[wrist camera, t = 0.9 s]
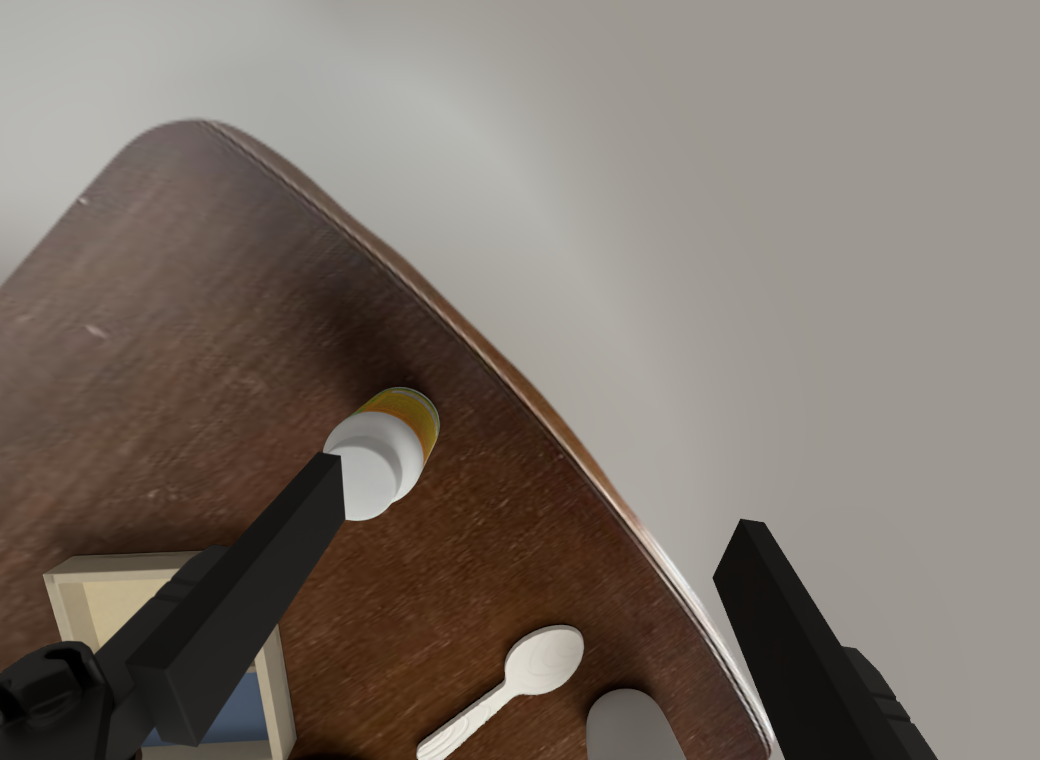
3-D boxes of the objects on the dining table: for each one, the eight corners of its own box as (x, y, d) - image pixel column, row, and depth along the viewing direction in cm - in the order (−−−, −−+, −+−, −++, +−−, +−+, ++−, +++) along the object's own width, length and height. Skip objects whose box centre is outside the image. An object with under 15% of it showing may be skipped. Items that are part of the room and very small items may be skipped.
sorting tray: (73, 555, 30) (42, 574, 28) (265, 547, 31) (248, 565, 29) (126, 748, 34) (101, 777, 32) (297, 738, 34) (284, 766, 32)
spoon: (398, 740, 35) (397, 746, 34) (555, 610, 33) (556, 615, 32) (444, 774, 36) (443, 781, 35) (599, 649, 34) (600, 655, 33)
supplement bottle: (383, 372, 28) (323, 411, 19) (453, 406, 29) (429, 461, 20) (352, 437, 29) (279, 506, 20) (420, 469, 30) (382, 551, 20)
